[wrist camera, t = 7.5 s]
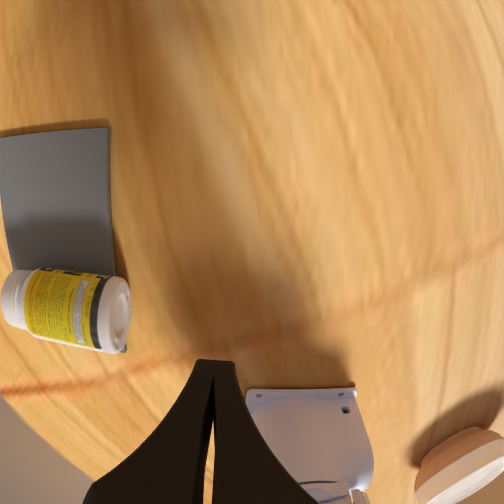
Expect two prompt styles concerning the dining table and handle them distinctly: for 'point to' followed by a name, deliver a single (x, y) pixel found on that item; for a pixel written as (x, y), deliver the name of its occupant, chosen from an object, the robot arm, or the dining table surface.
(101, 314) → the supplement bottle
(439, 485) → the bowl
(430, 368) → the dining table surface
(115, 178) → the dining table surface
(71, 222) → the mat
